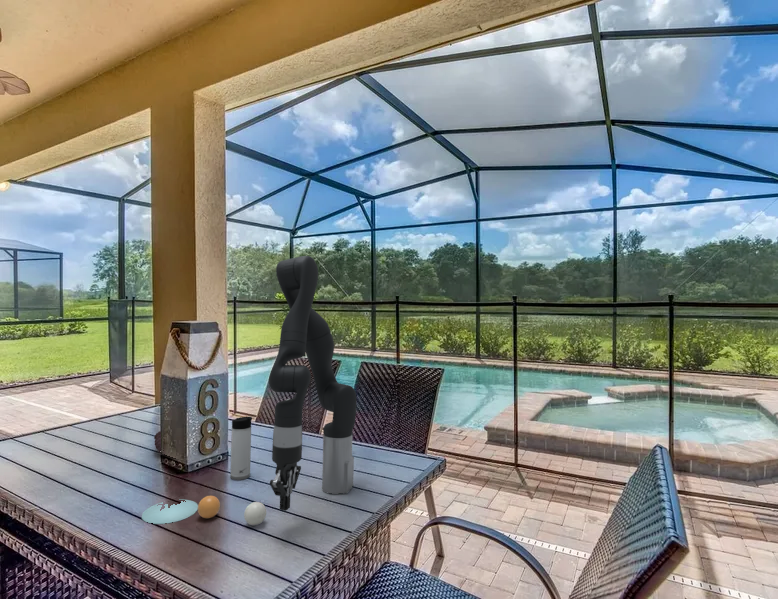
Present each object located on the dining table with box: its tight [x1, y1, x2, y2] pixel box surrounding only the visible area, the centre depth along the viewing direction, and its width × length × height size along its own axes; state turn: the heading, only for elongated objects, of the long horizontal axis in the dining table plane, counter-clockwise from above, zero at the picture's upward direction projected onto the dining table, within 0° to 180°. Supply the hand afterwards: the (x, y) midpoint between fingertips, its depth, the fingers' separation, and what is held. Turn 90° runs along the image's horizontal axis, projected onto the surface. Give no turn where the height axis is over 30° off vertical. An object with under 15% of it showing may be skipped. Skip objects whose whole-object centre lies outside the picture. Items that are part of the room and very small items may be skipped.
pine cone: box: [153, 430, 162, 454], centre depth 168 cm, size 18×10×10 cm, turn 52°
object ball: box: [197, 495, 221, 519], centre depth 119 cm, size 6×6×6 cm
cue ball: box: [243, 501, 267, 526], centre depth 116 cm, size 6×6×6 cm
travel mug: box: [229, 416, 253, 481], centre depth 147 cm, size 6×7×20 cm
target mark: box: [141, 499, 198, 525], centre depth 122 cm, size 14×14×1 cm
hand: (284, 508), depth 114 cm, fingers closed
